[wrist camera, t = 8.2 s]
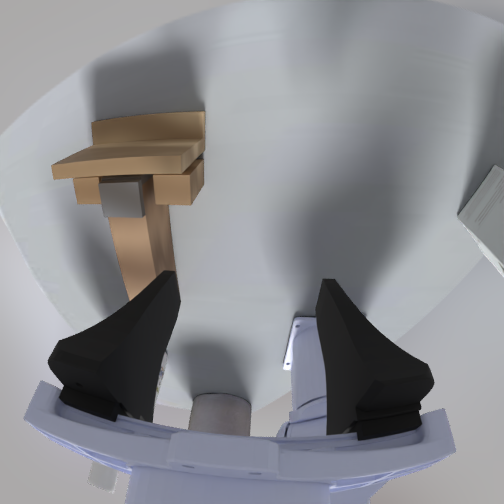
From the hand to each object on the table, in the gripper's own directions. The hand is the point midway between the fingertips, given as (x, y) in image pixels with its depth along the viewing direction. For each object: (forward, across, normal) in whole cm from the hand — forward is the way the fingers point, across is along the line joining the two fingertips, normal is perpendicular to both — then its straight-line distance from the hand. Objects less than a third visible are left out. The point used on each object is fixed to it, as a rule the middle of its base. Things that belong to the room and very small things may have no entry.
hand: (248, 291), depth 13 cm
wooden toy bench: (+9, +8, -5) cm, 13 cm away
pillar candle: (+10, +4, +34) cm, 35 cm away
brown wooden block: (+9, +9, +3) cm, 13 cm away
